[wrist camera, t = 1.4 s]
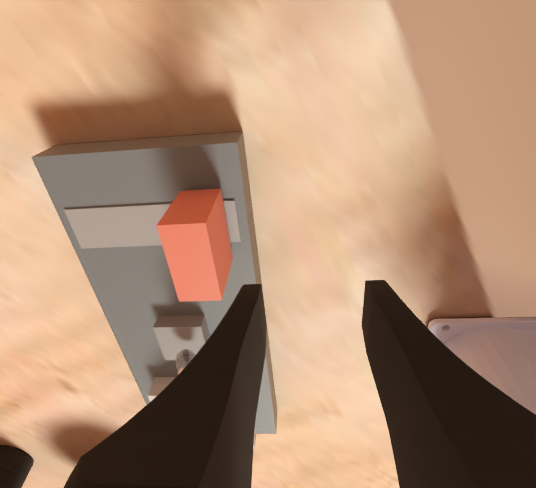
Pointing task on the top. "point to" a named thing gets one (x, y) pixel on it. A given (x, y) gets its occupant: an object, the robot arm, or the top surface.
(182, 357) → the toggle lever
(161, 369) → the panel
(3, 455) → the drinking cup
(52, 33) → the top surface
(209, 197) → the slide paddle
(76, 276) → the top surface
